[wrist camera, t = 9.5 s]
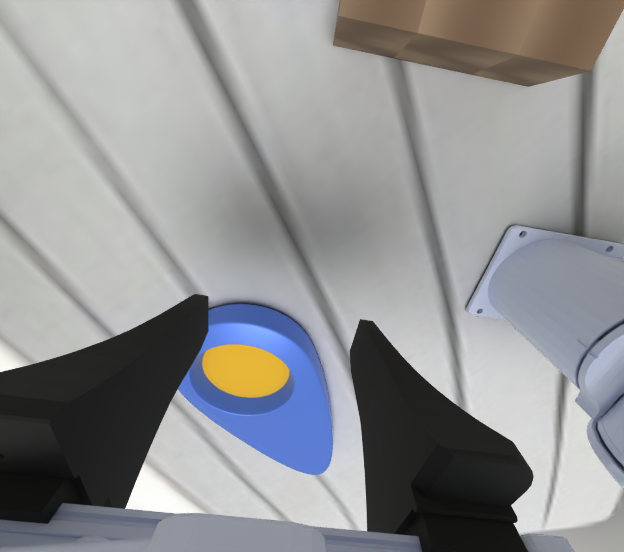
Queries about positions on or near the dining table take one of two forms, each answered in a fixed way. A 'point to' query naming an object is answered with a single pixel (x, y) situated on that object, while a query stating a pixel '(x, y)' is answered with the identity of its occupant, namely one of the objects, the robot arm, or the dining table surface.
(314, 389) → the location marker
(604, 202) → the dining table surface
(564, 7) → the socket block
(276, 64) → the dining table surface
